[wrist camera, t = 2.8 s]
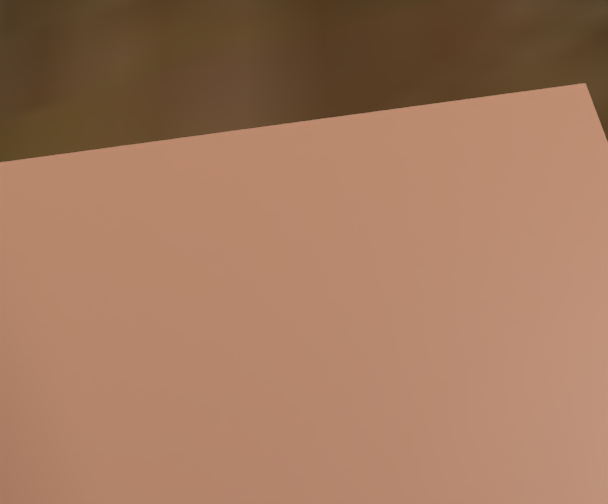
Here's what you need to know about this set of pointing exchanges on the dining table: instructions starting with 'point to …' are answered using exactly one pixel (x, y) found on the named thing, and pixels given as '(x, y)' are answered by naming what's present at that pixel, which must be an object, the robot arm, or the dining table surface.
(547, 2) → the dining table surface
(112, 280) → the terracotta column
